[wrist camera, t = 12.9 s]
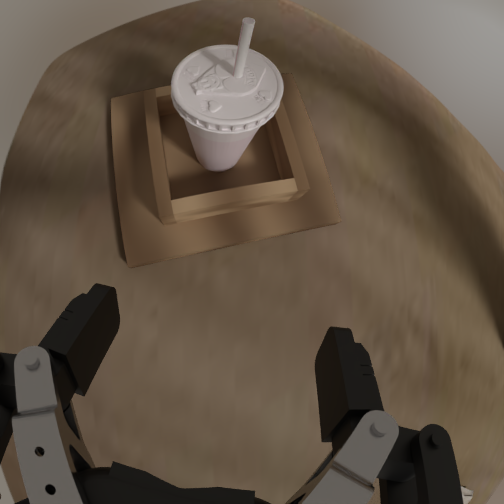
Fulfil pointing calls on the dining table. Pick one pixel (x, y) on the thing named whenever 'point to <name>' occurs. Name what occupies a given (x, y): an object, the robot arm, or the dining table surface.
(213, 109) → the smoothie
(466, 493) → the washcloth
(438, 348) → the dining table surface
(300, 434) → the dining table surface
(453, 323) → the dining table surface
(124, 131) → the open wooden box
